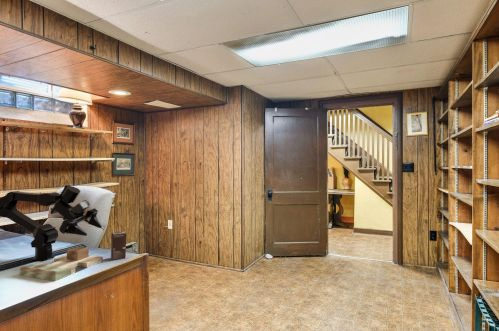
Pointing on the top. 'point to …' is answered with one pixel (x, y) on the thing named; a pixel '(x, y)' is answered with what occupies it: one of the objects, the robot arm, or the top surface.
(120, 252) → the box
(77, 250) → the block
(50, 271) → the trap board
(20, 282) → the top surface
